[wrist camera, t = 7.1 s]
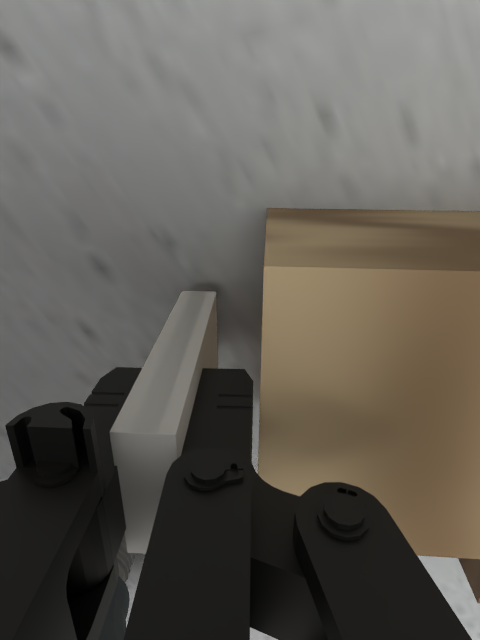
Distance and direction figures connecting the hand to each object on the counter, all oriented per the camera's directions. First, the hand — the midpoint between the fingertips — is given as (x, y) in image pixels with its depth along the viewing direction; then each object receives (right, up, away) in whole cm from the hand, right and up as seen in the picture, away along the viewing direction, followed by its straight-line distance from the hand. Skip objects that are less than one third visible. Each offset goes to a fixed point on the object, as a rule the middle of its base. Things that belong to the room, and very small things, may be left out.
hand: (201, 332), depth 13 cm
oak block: (+6, 0, +1) cm, 6 cm away
